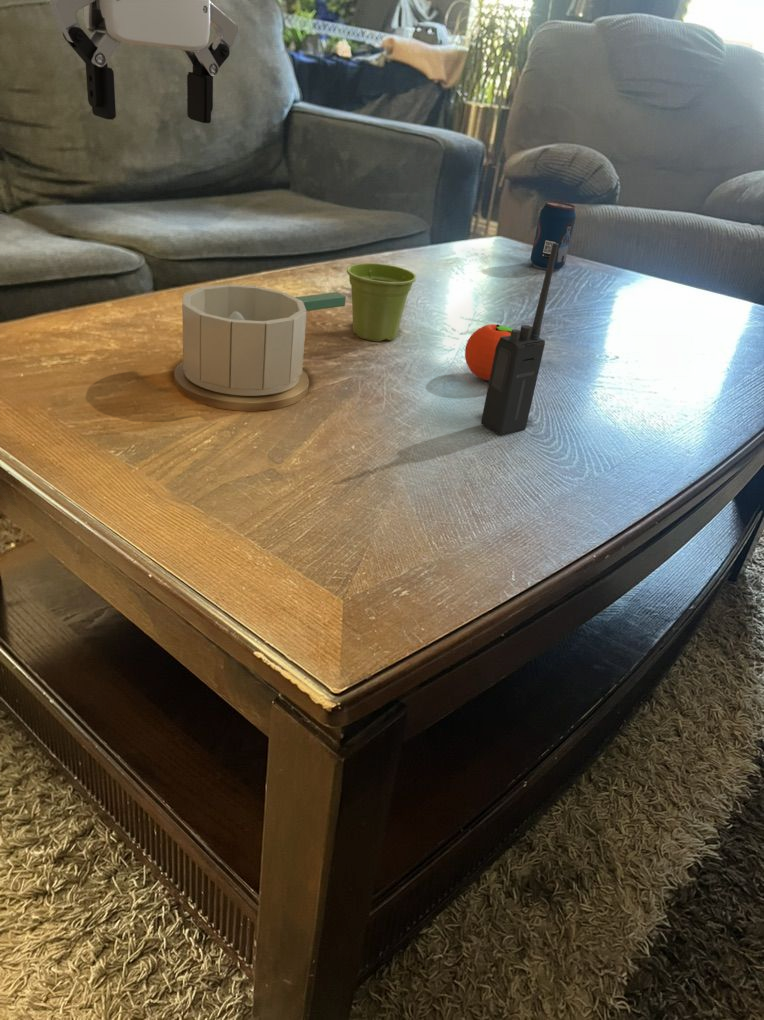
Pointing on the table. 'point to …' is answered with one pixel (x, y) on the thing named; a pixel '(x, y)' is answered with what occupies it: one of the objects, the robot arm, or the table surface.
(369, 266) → the plant pot
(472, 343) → the clementine
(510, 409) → the walkie-talkie
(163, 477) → the table surface
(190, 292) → the pot
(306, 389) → the disc
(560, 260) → the soda can
